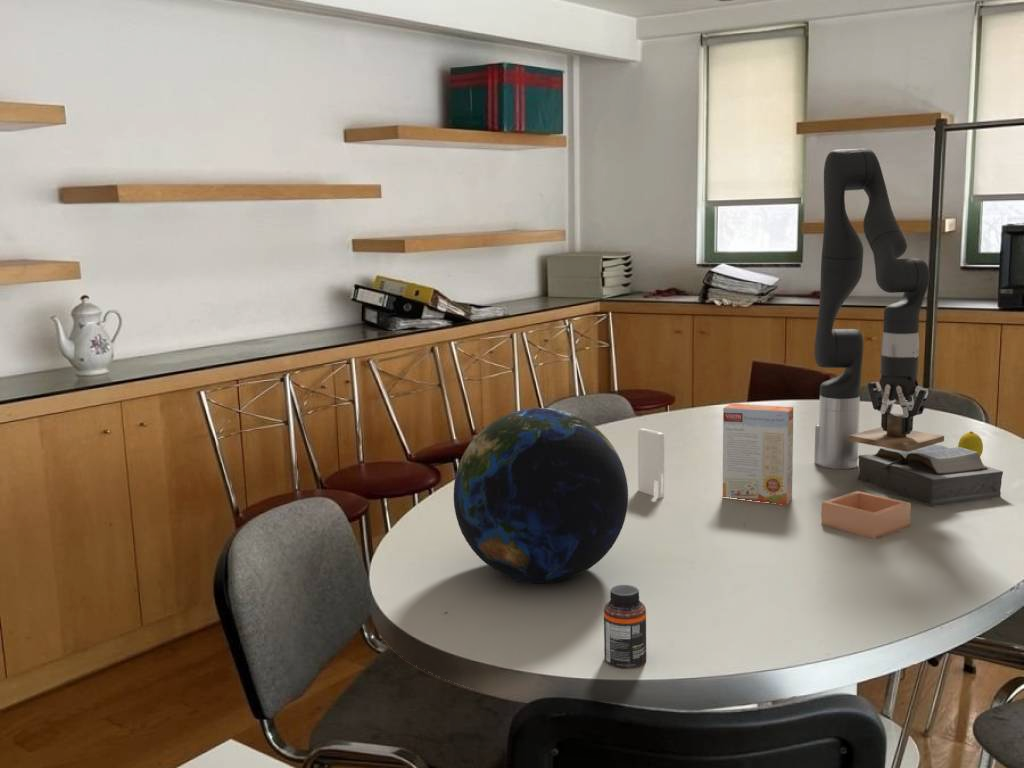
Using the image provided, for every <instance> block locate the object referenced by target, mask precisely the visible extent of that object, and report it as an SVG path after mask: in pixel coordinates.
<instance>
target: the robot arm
mask: <svg viewBox="0 0 1024 768" xmlns="http://www.w3.org/2000/svg"><path fill="white" fill-rule="evenodd" d="M882 171H883V170H882V168H881V163H880V162H879V158H878V157H877V155H876V153H875V152H874V151H873V150H872V149H870V148H864V147H863V148H847V149H845V148H844V149H843V148H842V149H834V150H831V151H829V153H828V154H827V156H826V158H825V161H824V169H823V202H824V203H823V206H824V212H823V213H824V215H823V216H824V217H823V219H824V220H823V236H822V237H823V238H822V249H821V259H820V260H821V262H820V291H819V306H818V308H819V309H818V313H817V322H816V323H817V324H816V330H815V337H814V338H815V339H814V349H813V352H814V353H813V355H814V361H815V363H816V366H818V367H819V368H825V369H826V368H827V369H829V368H830V369H831V368H833V369H835V368H836V369H837V368H841V369H842V368H843V369H844V370H843V371H842V372H841V373H840V374H839V375H837V376H835V377H833V378H830V379H828V380H825V381H823V382H822V383H820V386H819V412H818V413H819V416H818V417H819V418H818V424H816V425H815V428H814V429H815V430H814V464H816V465H818V466H820V467H823V468H826V469H834V470H849V469H855V468H857V467H858V464H859V458H858V456H859V443H858V442H852V441H849V435H853V434H857V433H860V432H859V430H860V426H859V425H860V399H861V398H860V397H861V396H860V395H861V385H862V382H861V381H862V370H863V369H862V368H863V359H864V336H863V334H862V332H861V331H860V330H859V329H855V328H834V323H835V319H836V317H837V314H838V313H839V310H840V309H841V308H842V306H843V304H844V303H845V301H846V299H848V297H850V295H851V293H853V291H854V290H855V288H856V287H857V285H858V283H859V282H860V280H861V278H862V274H863V265H864V246H863V243H862V241H861V238H860V236H859V235H858V233H857V231H856V229H855V227H854V226H853V224H852V222H851V221H850V219H849V216H848V214H847V211H846V203H845V194H846V191H861V190H863V191H864V193H866V195H867V198H868V206H867V208H866V211H865V215H864V218H863V227H862V228H863V233H864V236H865V238H866V241H867V243H868V245H869V247H870V249H871V251H872V253H873V260H874V268H875V279H876V280H875V282H876V283H877V285H878V287H879V288H880V289H881V290H883V292H885V293H889V294H890V293H891V294H894V293H895V294H896V293H899V294H900V293H903V295H902V297H901V299H900V300H899V301H897V302H893V303H891V304H888V305H887V306H885V308H884V311H883V327H882V328H883V329H882V330H883V332H882V337H881V348H880V349H881V350H880V352H881V353H880V372H879V373H880V374H881V375H880V376H881V377H880V379H879V381H872V382H868V383H867V390H868V393H869V397H870V400H871V403H872V409H873V410H875V411H878V412H880V414H881V415H880V417H881V418H880V419H881V421H880V426H881V427H882V428H883V431H887V415H888V414H893V413H892V410H893V409H894V408H893V407H894V404H895V403H896V401H897V402H899V406H900V407H901V408H902V409H901V410H902V414H903V415H904V417H903V419H902V434H905V435H906V434H910V432H911V431H914V430H913V426H914V417H916V416H918V415H922V414H923V413H924V410H925V409H926V405H927V402H928V399H929V397H930V394H931V390H930V388H924V387H921V386H920V385H919V382H918V378H917V377H918V375H919V361H920V360H919V357H920V338H919V327H920V325H919V324H920V312H921V309H922V307H923V302H924V300H925V299H924V298H925V296H926V294H927V290H928V288H929V284H930V279H931V272H930V268H929V266H928V264H927V262H926V261H924V260H923V259H921V258H918V257H917V258H915V257H914V258H913V257H912V258H901V257H902V256H903V255H904V254H905V253H906V251H907V248H908V244H907V239H906V238H905V235H904V233H903V232H902V230H901V227H900V225H899V223H898V222H897V219H896V217H895V214H894V212H893V209H892V205H891V201H890V198H889V194H888V191H887V189H888V188H887V185H886V183H885V179H884V174H883V172H882ZM833 328H834V329H833ZM882 392H883V395H882ZM914 394H915V397H916V399H914Z"/></svg>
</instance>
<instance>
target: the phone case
mask: <svg viewBox="0 0 1024 768" xmlns="http://www.w3.org/2000/svg"><path fill="white" fill-rule="evenodd" d="M637 477H638V478H637V490H638V492H641V493H643V494H646V495H650V496H653V497H655V482H657V483H658V485H657V486H658V487H657V488H658V491H657V498H659V499H660V498H665V435H664V433H663V432H661V431H656V430H652V429H647V428H639V429H638V431H637Z"/></svg>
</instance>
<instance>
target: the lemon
mask: <svg viewBox="0 0 1024 768" xmlns="http://www.w3.org/2000/svg"><path fill="white" fill-rule="evenodd" d="M957 447H961V448H965V449H968V450H971V451H976V452H978V453H979V456H980V457H981V456H982V455H983V451H984V444H983V441H982V438H981V437H980V436H979V434H977V433H975V432H974V431H973V430H971V431H969V432H966V433H964V434H963V435H962V436H961V437H960V438H959V439H958V444H957Z"/></svg>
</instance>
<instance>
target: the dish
mask: <svg viewBox="0 0 1024 768" xmlns="http://www.w3.org/2000/svg"><path fill="white" fill-rule="evenodd" d="M911 504H912V502H908V501H903V500H899V499H894V498H890V497H886V496H882V495H876V494H872V493H868V492H864V491H859V490H856V491H853V492H850V493H847V494H843V495H840V496H837V497H834V498H831V499H828V500H825V501H822V502H821V525H822V526H827V527H830V528H834V529H838V530H842V531H845V532H848V533H852V534H857V535H859V536H863V537H868V538H871V539H874V540H875V539H877V538H880V537H883V536H887V535H889V534H892V533H895V532H899V531H900V530H901V531H902V530H903V529H906V528H908V527H910V526H911V508H912V505H911Z"/></svg>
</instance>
